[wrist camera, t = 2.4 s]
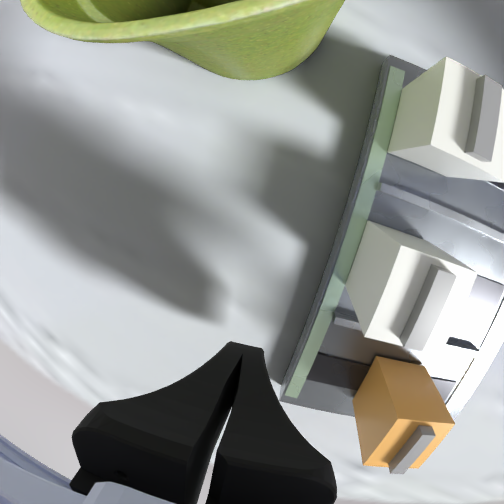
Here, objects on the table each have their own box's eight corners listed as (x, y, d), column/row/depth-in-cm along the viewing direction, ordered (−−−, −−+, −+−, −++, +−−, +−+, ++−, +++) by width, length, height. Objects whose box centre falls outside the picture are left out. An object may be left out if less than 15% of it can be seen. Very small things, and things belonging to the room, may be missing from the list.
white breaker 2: (427, 240, 11) (486, 278, 7) (403, 302, 12) (446, 363, 7) (367, 220, 11) (407, 250, 7) (345, 285, 12) (367, 345, 7)
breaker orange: (424, 366, 12) (459, 432, 8) (398, 408, 13) (420, 477, 9) (376, 355, 12) (401, 428, 8) (352, 400, 13) (364, 474, 9)
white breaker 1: (460, 115, 9) (528, 97, 5) (446, 176, 10) (515, 184, 6) (402, 88, 10) (454, 50, 5) (387, 152, 10) (438, 143, 6)
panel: (547, 154, 10) (569, 155, 8) (442, 414, 14) (451, 434, 12) (382, 63, 11) (393, 49, 9) (280, 385, 15) (278, 409, 13)
